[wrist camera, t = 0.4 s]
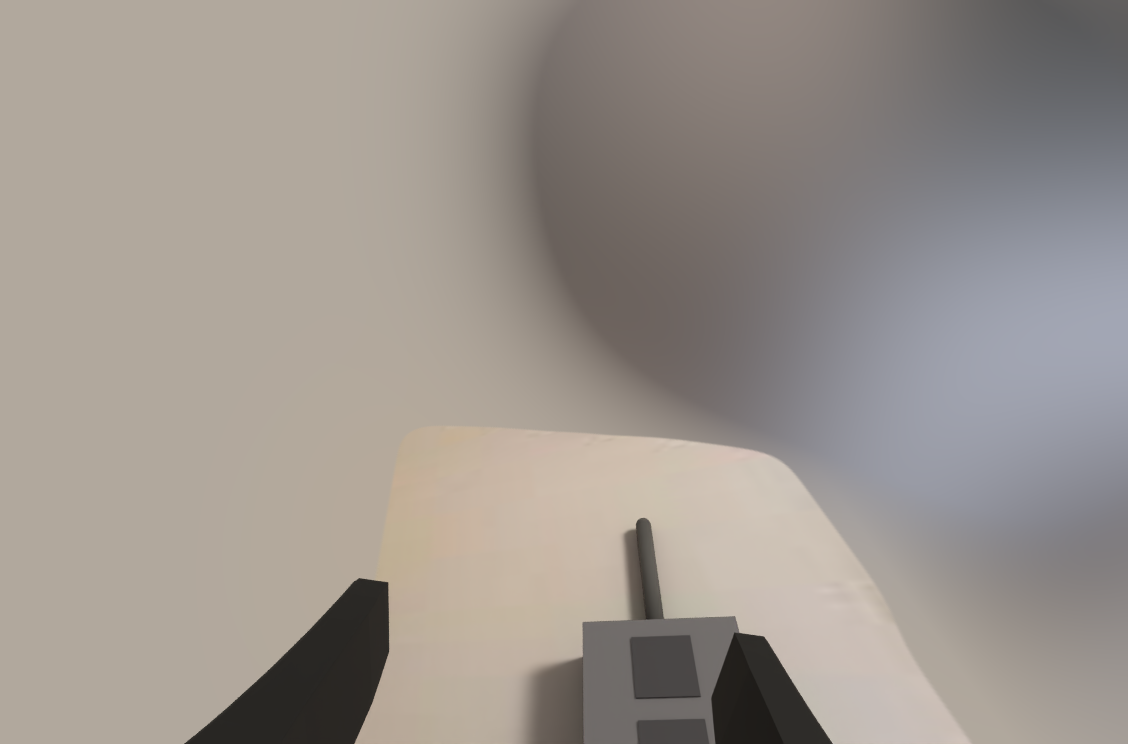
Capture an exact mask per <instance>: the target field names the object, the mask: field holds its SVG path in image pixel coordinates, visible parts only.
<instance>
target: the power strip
mask: <svg viewBox="0 0 1128 744" xmlns="http://www.w3.org/2000/svg"><path fill="white" fill-rule="evenodd" d="M636 530H637V539H638V548H639V557H640V567H641V576H642V585H643V594H644V603H645V612H646V620H625V621H598V622H583V735H584V744H715V735H714V725H713V714H712V702H711V697H712V694H713V691H714V688H715V685H716V683H717V680H718V677H719V674H720V671H721V669H722V666H723V663H724V660H725V657H726V655H727V652H728V649H729V646H730V643H731V640H732V638H733V635H734V632H735V633H739V629H738V625H737V622H736V618H735V616H732V617H705V618H679V619H664V617H663V609H662V602H661V595H660V588H659V580H658V573H657V566H656V559H655V552H654V544H653V537H652V530H651V524H650V522H649V520H648V519H646V518H641V519H639V520H638V521H637V523H636Z"/></svg>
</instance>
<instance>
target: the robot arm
mask: <svg viewBox="0 0 1128 744" xmlns="http://www.w3.org/2000/svg"><path fill="white" fill-rule="evenodd" d="M388 653H389V603H388V582H381V581H374V580H367V579H360V578H359V579H358V580H356V581H354V582H353V583H352V585H351V586H350V587H349V588H348V589H347V590H346V591H345V593H343V595H342V596H341V597H340V598H339V599H338V600H337V601H336V602H335V604H333V606H332V607H331V608H330V609H329V610H328V611H327V612H326V613H325V614H324V615H323V616H322V617H321V618H320V619H319V620H318V622H317V623H316V624H315V625H314V626H313V627H312V628H311V629H310V630H309V631H308V632H307V633H306V634H305V635H304V636H303V637H302V638H301V639H300V640H299V641H298V642H297V643H296V644H295V645H294V646H293V647H292V648H291V649H290V650H289V651H288V652H287V653H286V654H285V655H284V656H283V657H282V658H281V659H280V660H279V661H278V662H277V663H276V664H275V665H274V666H273V667H271V668H270V669H269V670H268V671H267V672H266V673H265V674H264V675H263V676H262V677H261V678H260V679H258V680H257V682H255V683H254V684H253V685H252V686H251V687H250V688H249V689H248V690H246V691H245V692H244V693H243V694H242V695H241V696H240V697H239V698H238V699H237V700H235V701H234V702H233V703H232V704H231V705H230V706H229V707H228V708H227V709H225V710H224V711H223V712H222V713H221V714H220V715H218V716H217V717H216V718H215V719H214V720H213V721H211V722H210V723H209V724H208V725H207V726H205V727H204V728H203V729H202V730H201V731H199V732H198V733H197V734H196V735H195V736H193V737H192V738H191V739H190V740H188V741H187V742H186V743H185V744H354V743H355V741H356V739H357V736H358V734H359V732H360V730H361V727H362V725H363V723H364V721H365V718H366V716H367V714H368V711H369V709H370V707H371V704H372V702H373V699H374V696H375V693H376V690H377V687H378V684H379V681H380V678H381V675H382V672H383V669H384V666H385V663H386V659H387V656H388ZM711 702H712V714H713V725H714V735H715V744H833V743H832V742H831V741H830V739H829V738H828V736H827V735H826V733H825V732H824V730H823V729H822V727H821V726H820V724H819V723H818V721H817V720H816V718H815V717H814V715H813V713H812V712H811V710H810V709H809V707H808V706H807V704H806V703H805V701H804V699H803V698H802V696H801V695H800V693H799V692H798V690H797V688H796V687H795V685H794V684H793V682H792V680H791V679H790V677H789V676H788V674H787V672H786V671H785V669H784V667H783V666H782V664H781V663H780V661H779V659H778V658H777V656H776V654H775V653H774V651H773V650H772V648H771V646H770V645H769V643H768V641H767V640H766V639H765V637H763V636H756V635H749V634H742V633H735V632H734V635H733V638H732V640H731V643H730V646H729V649H728V652H727V655H726V657H725V660H724V663H723V666H722V669H721V671H720V674H719V677H718V680H717V683H716V685H715V688H714V691H713V694H712V697H711Z"/></svg>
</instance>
